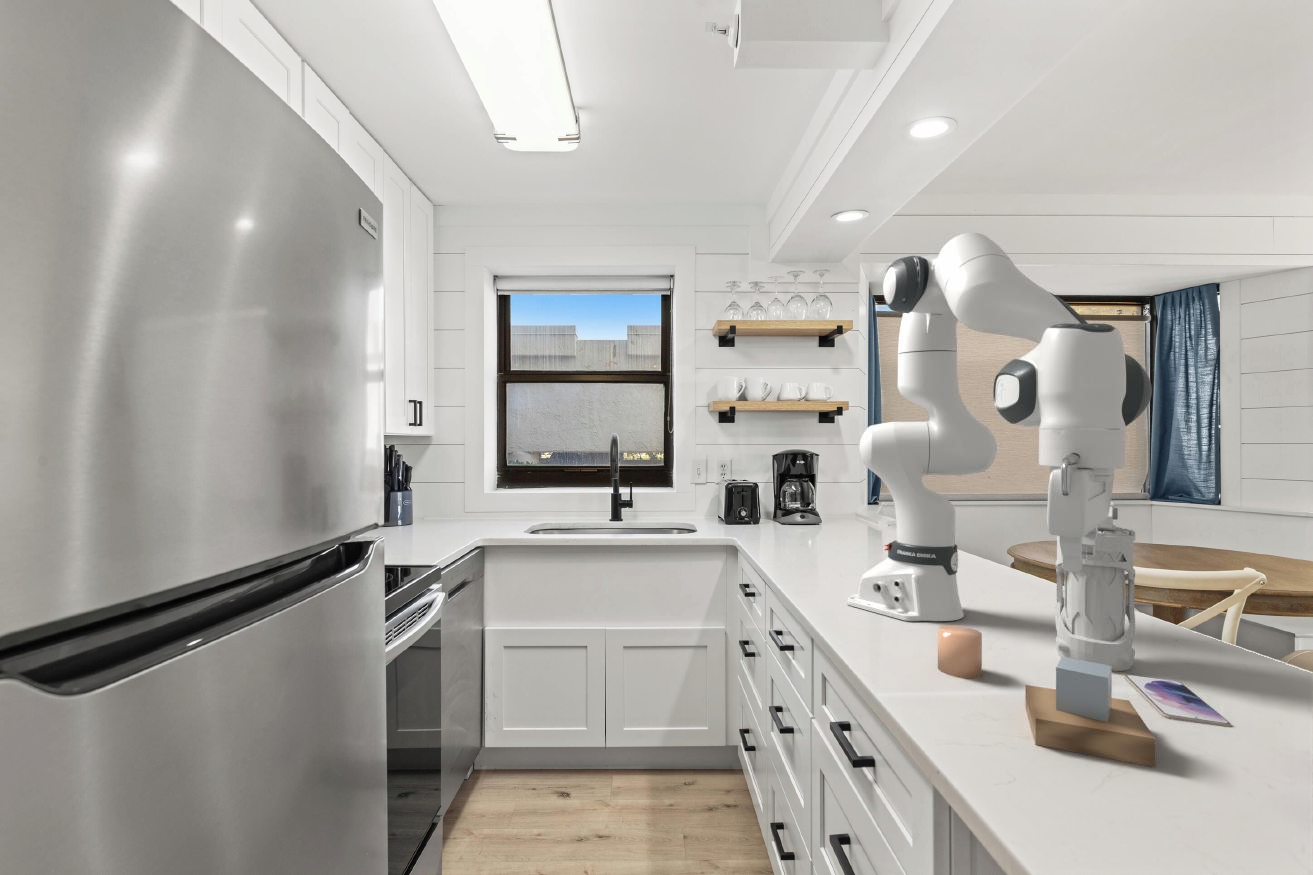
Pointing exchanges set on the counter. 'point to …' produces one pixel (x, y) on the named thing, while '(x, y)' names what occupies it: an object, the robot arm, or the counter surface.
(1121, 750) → the base slab
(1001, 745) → the counter surface
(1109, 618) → the lantern
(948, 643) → the peach rounded cylinder
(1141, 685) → the smartphone
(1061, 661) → the cube
